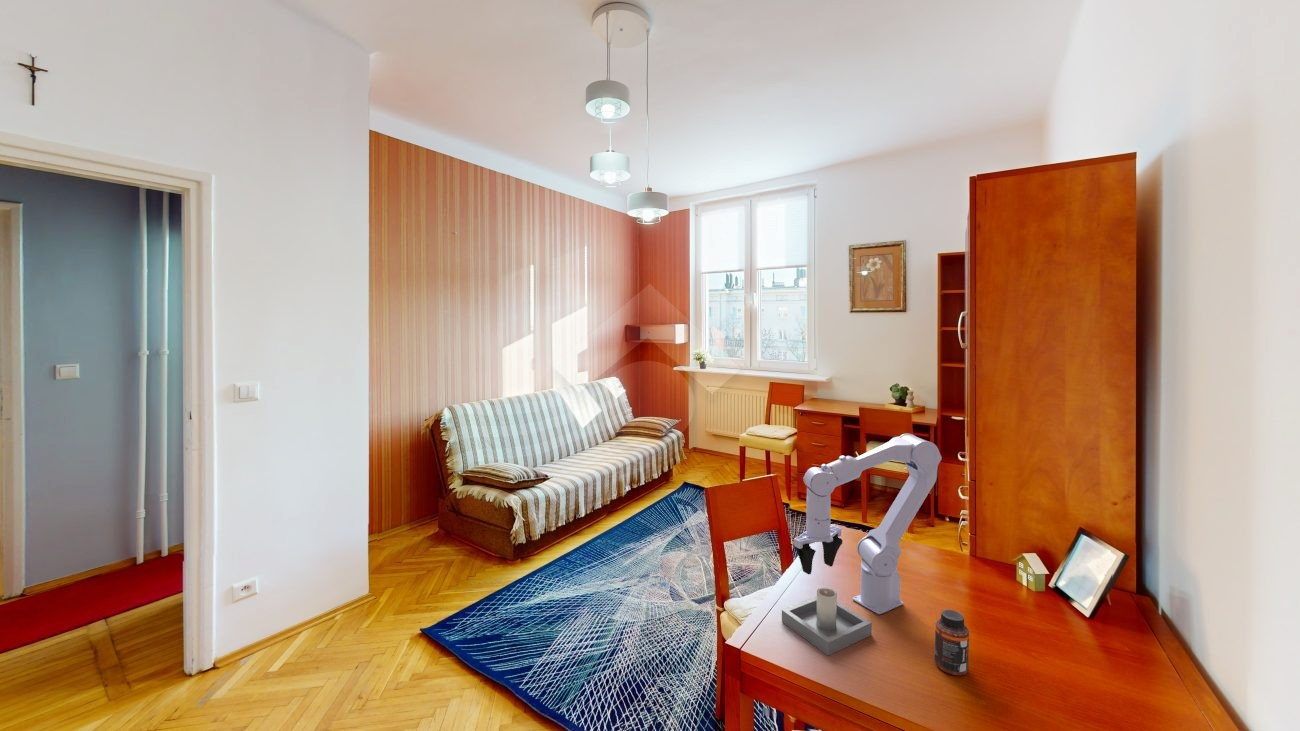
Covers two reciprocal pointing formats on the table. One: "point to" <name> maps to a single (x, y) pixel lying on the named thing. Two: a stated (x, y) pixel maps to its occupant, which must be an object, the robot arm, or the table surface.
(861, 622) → the tray
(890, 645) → the table surface
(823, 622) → the cup
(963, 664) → the supplement bottle
